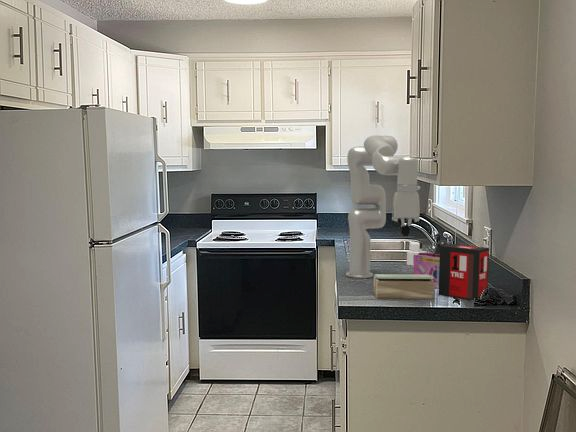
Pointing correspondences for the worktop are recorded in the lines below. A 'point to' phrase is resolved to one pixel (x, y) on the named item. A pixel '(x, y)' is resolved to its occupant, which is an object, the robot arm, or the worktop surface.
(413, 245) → the medicine bottle
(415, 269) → the gum box
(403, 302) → the worktop surface
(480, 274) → the cleaning product box
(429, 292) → the birch box
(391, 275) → the lid
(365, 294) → the worktop surface
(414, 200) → the robot arm
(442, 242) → the pump dispenser
